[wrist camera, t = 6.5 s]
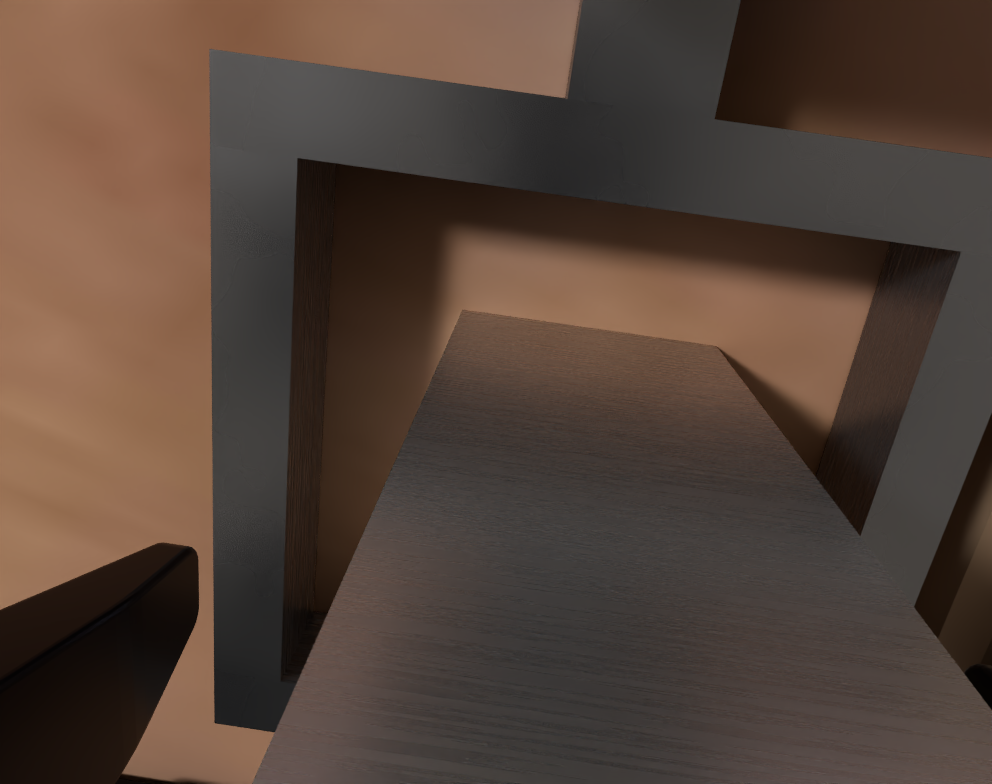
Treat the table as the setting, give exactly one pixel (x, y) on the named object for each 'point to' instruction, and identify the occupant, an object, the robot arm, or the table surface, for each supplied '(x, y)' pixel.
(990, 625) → the brown open tray
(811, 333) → the table surface
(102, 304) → the table surface
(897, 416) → the socket block
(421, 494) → the brushed grey square post
